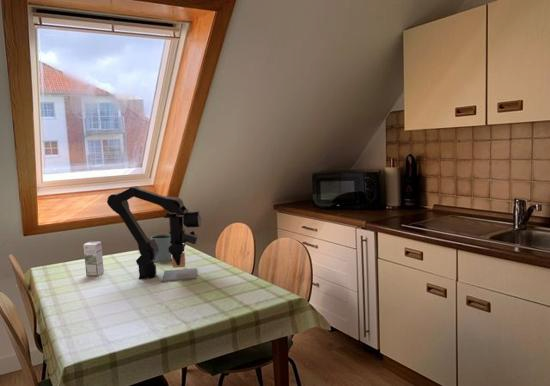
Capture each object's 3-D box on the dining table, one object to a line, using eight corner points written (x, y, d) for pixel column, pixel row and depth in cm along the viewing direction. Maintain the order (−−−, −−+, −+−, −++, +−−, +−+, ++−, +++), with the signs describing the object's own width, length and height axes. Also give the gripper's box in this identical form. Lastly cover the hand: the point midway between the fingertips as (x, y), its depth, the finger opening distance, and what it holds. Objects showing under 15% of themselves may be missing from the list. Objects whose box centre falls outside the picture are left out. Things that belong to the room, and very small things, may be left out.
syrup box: (104, 272, 202) (101, 241, 201) (98, 276, 197) (95, 244, 195) (92, 272, 203) (89, 241, 201) (85, 276, 197) (82, 244, 195)
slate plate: (161, 282, 184) (161, 280, 184) (164, 272, 198) (164, 270, 198) (196, 279, 186) (195, 277, 186) (196, 269, 200) (196, 268, 200)
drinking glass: (150, 259, 222) (148, 235, 220) (171, 256, 226) (169, 233, 225) (154, 264, 213) (152, 239, 211) (175, 261, 217) (173, 236, 215)
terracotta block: (172, 267, 189) (171, 256, 188) (173, 264, 194) (172, 253, 193) (184, 266, 190) (184, 255, 189) (185, 263, 195) (184, 252, 194)
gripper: (195, 230, 182) (197, 268, 184) (196, 222, 200) (198, 256, 202) (167, 232, 180) (169, 270, 182) (171, 224, 199) (173, 258, 200)
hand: (178, 263), depth 192 cm, fingers closed on terracotta block, 5 cm apart
